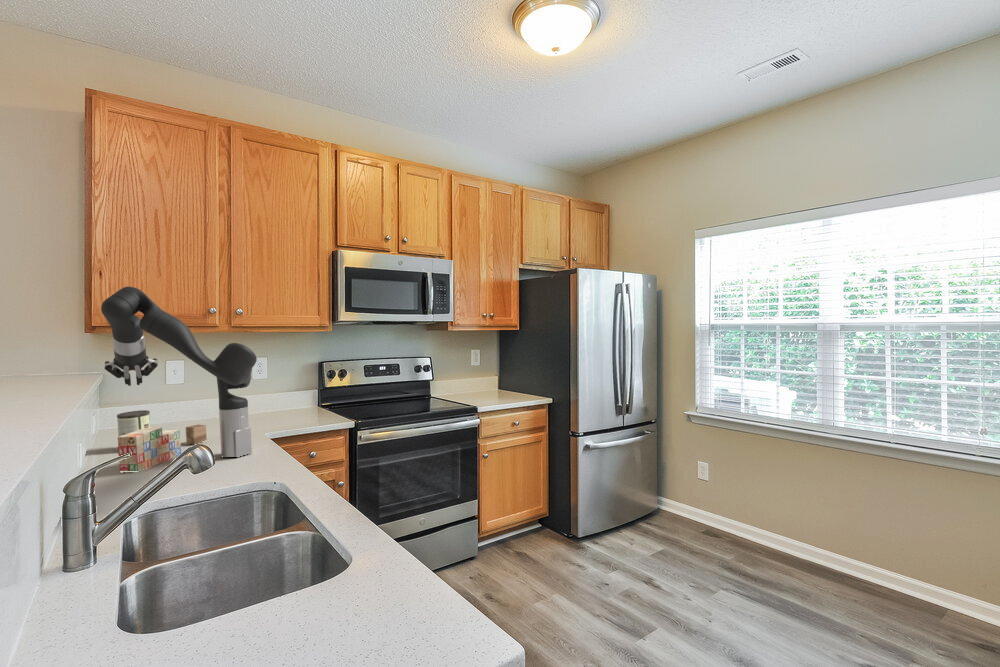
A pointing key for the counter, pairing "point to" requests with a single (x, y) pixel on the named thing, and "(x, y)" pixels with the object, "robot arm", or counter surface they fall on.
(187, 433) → the walnut block
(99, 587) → the counter surface
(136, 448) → the stack of blocks
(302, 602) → the counter surface
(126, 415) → the coffee can
